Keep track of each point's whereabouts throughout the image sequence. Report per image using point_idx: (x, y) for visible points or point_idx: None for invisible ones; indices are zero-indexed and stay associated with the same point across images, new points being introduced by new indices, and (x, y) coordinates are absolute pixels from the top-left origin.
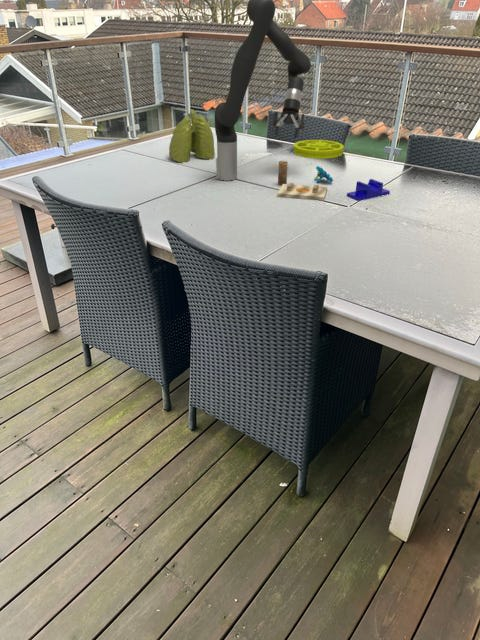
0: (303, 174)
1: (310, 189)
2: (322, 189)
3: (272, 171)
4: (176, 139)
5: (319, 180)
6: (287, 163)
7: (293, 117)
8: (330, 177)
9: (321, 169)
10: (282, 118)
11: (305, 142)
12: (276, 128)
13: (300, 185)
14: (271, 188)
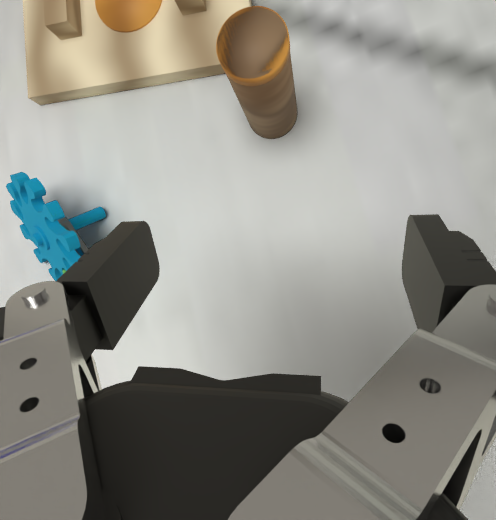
0: (203, 350)
1: (96, 26)
2: (43, 52)
3: None
4: None
5: (86, 212)
6: (217, 46)
7: (1, 452)
8: (15, 201)
9: (31, 181)
10: (433, 428)
11: None
12: (486, 280)
13: (156, 70)
14: (310, 21)
